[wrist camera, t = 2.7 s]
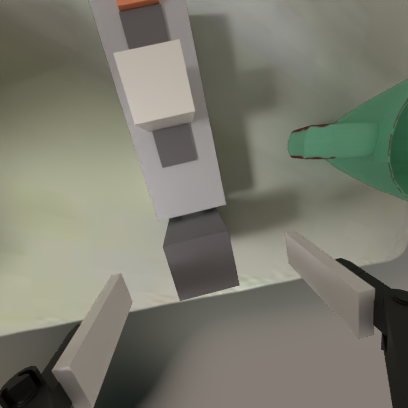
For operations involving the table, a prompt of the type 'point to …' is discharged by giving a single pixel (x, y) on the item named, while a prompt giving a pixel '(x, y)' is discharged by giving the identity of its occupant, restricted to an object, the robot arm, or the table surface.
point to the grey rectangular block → (200, 254)
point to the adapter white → (156, 85)
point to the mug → (364, 142)
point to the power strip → (172, 136)
